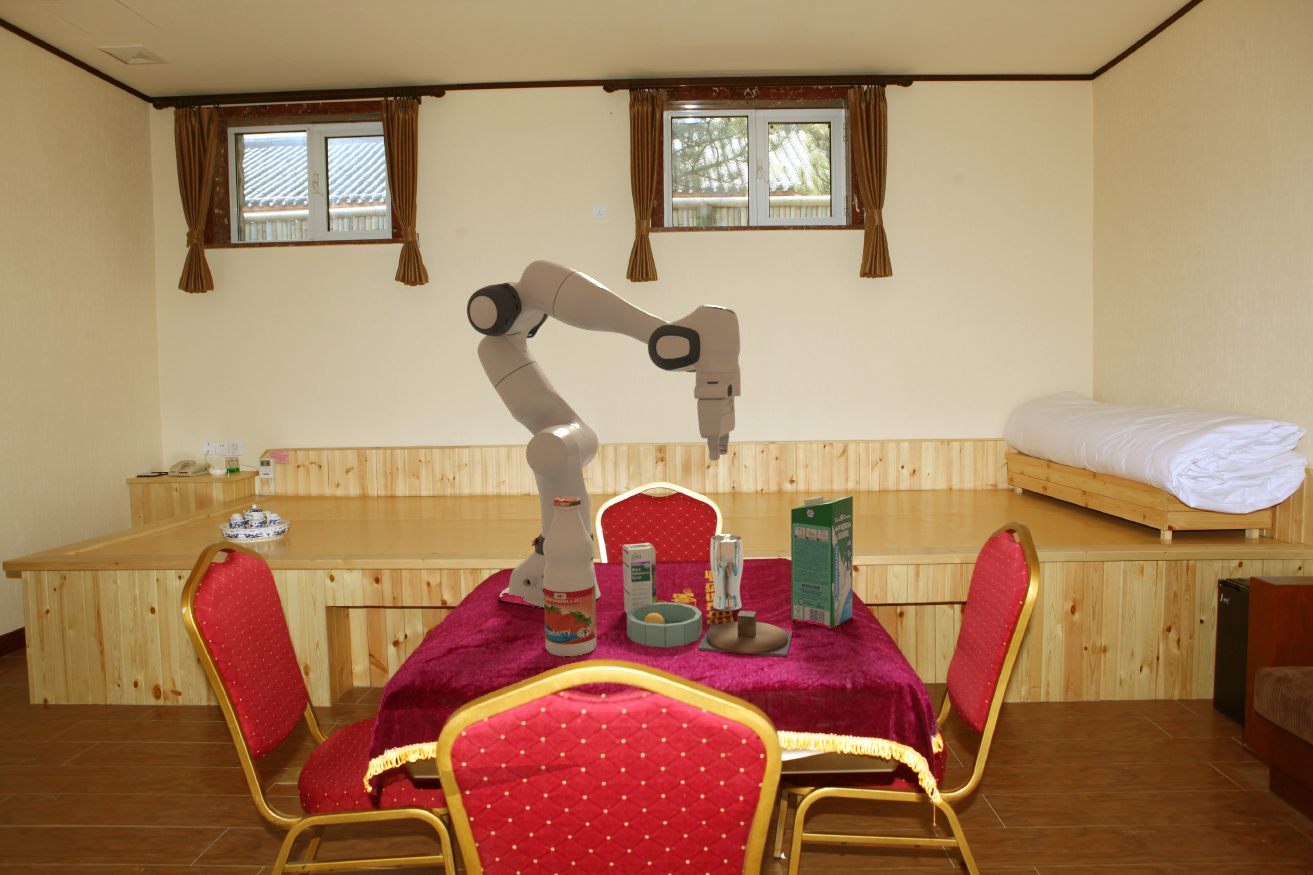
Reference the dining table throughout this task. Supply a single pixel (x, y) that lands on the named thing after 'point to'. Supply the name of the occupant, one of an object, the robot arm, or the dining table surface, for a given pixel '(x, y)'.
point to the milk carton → (822, 560)
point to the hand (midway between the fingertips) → (718, 457)
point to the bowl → (677, 629)
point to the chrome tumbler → (726, 571)
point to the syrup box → (639, 575)
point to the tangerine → (654, 618)
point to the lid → (747, 635)
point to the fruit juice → (569, 583)
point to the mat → (779, 652)
